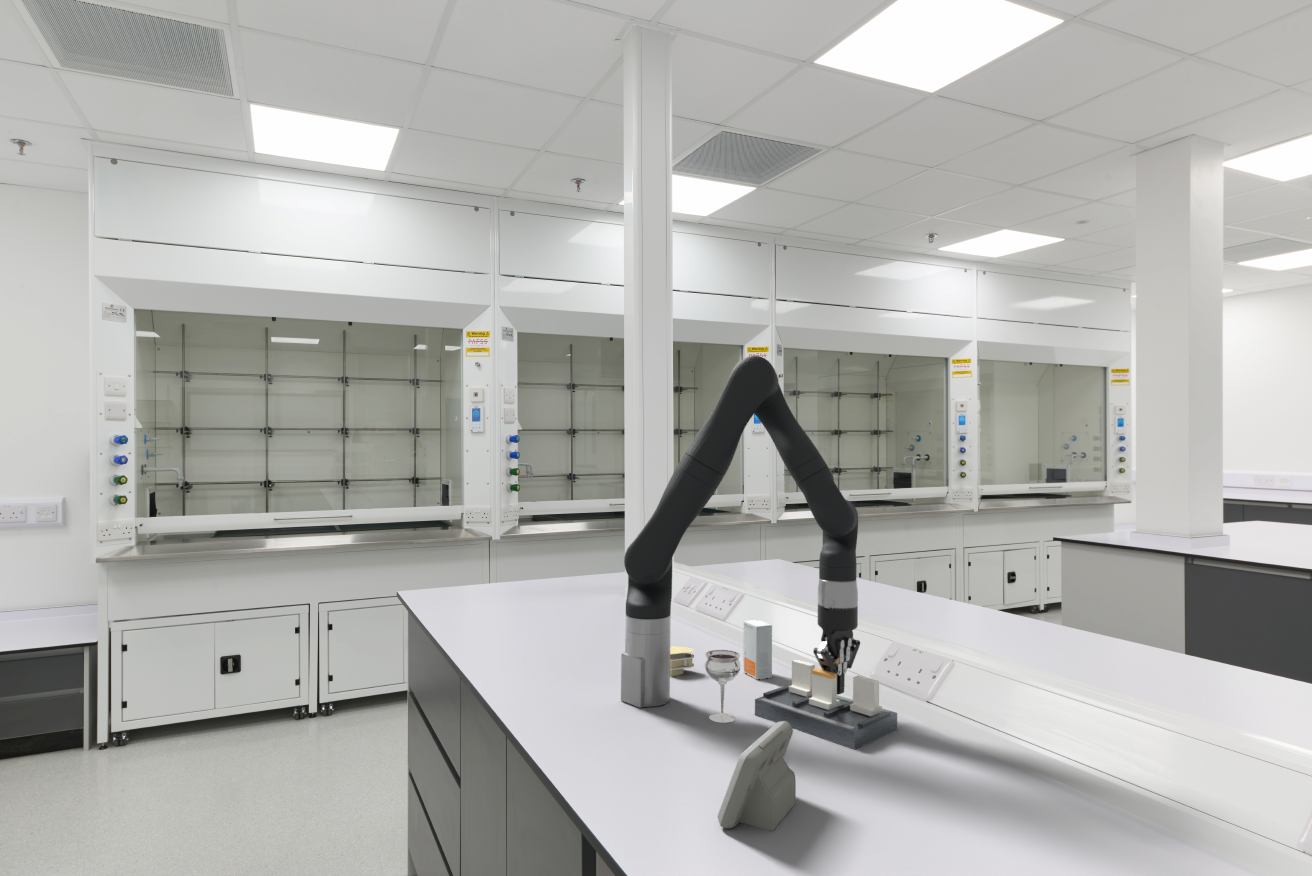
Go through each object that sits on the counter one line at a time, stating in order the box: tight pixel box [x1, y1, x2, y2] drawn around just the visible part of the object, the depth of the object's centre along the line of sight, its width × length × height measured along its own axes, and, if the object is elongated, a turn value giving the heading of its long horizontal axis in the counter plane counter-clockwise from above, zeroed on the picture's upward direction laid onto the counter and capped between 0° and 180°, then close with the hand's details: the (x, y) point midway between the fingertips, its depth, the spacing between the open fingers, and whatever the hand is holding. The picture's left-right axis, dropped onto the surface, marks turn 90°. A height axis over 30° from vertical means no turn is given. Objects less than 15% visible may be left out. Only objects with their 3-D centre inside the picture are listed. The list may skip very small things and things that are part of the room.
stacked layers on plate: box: [670, 645, 695, 677], centre depth 166 cm, size 10×9×6 cm
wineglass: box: [704, 649, 741, 724], centre depth 138 cm, size 7×7×12 cm
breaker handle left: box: [789, 659, 816, 697], centre depth 143 cm, size 4×4×6 cm
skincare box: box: [742, 619, 773, 680], centre depth 165 cm, size 6×4×12 cm
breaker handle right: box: [850, 675, 883, 716], centre depth 133 cm, size 4×4×6 cm
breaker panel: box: [754, 683, 898, 750], centre depth 136 cm, size 14×22×4 cm, turn 42°
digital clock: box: [717, 721, 797, 832], centre depth 102 cm, size 16×9×11 cm, turn 138°
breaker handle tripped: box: [809, 668, 840, 710], centre depth 136 cm, size 4×4×6 cm
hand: (837, 692), depth 139 cm, fingers closed
